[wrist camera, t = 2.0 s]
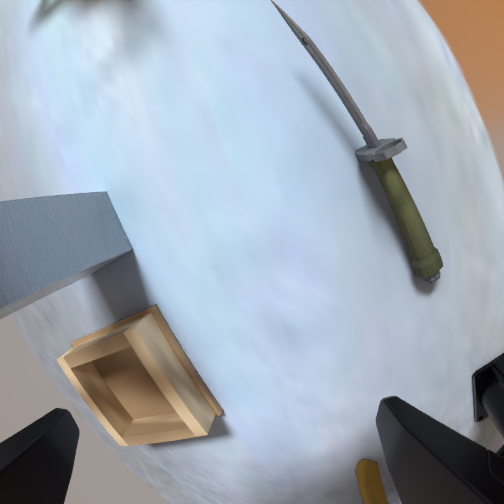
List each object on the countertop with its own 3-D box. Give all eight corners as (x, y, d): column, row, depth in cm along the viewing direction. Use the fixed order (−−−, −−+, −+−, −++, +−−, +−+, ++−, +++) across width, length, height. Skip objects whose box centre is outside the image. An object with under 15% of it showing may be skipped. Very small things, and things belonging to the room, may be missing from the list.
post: (133, 248, 20) (-10, 313, 8) (91, 274, 20) (-37, 339, 9) (106, 191, 19) (-45, 208, 7) (67, 221, 20) (-68, 255, 8)
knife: (255, 20, 14) (249, -20, 10) (284, 6, 14) (287, -36, 9) (407, 274, 19) (440, 310, 14) (431, 259, 18) (469, 290, 13)
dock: (222, 410, 21) (213, 436, 18) (134, 427, 23) (120, 448, 20) (156, 304, 20) (135, 321, 17) (74, 341, 22) (52, 357, 19)
